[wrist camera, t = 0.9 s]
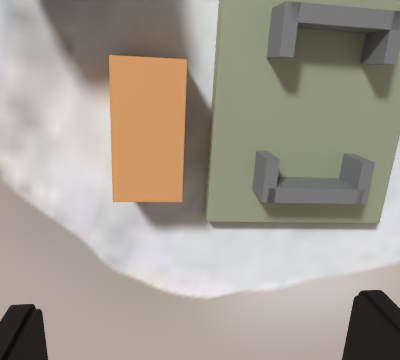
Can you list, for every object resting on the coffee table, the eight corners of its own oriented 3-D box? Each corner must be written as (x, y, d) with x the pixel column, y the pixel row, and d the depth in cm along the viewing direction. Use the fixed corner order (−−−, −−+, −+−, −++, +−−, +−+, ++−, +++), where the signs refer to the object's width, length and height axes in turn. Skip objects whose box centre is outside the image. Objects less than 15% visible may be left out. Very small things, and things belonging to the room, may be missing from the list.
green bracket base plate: (221, -38, 26) (234, -59, 21) (421, -18, 27) (469, -34, 23) (204, 214, 32) (211, 237, 27) (369, 216, 33) (400, 238, 29)
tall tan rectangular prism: (117, 57, 27) (108, 54, 22) (182, 60, 28) (187, 59, 23) (120, 180, 30) (113, 201, 25) (178, 181, 31) (182, 202, 26)
